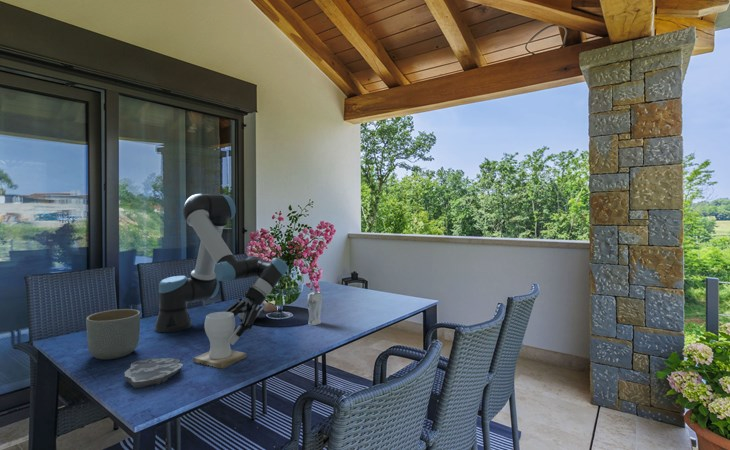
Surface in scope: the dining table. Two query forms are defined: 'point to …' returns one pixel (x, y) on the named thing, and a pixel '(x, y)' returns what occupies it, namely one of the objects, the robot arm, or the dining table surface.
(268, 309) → the tealight holder
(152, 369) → the brain slice
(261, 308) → the teacup
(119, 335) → the planter
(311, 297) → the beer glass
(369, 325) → the dining table surface
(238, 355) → the oak board
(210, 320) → the cup
